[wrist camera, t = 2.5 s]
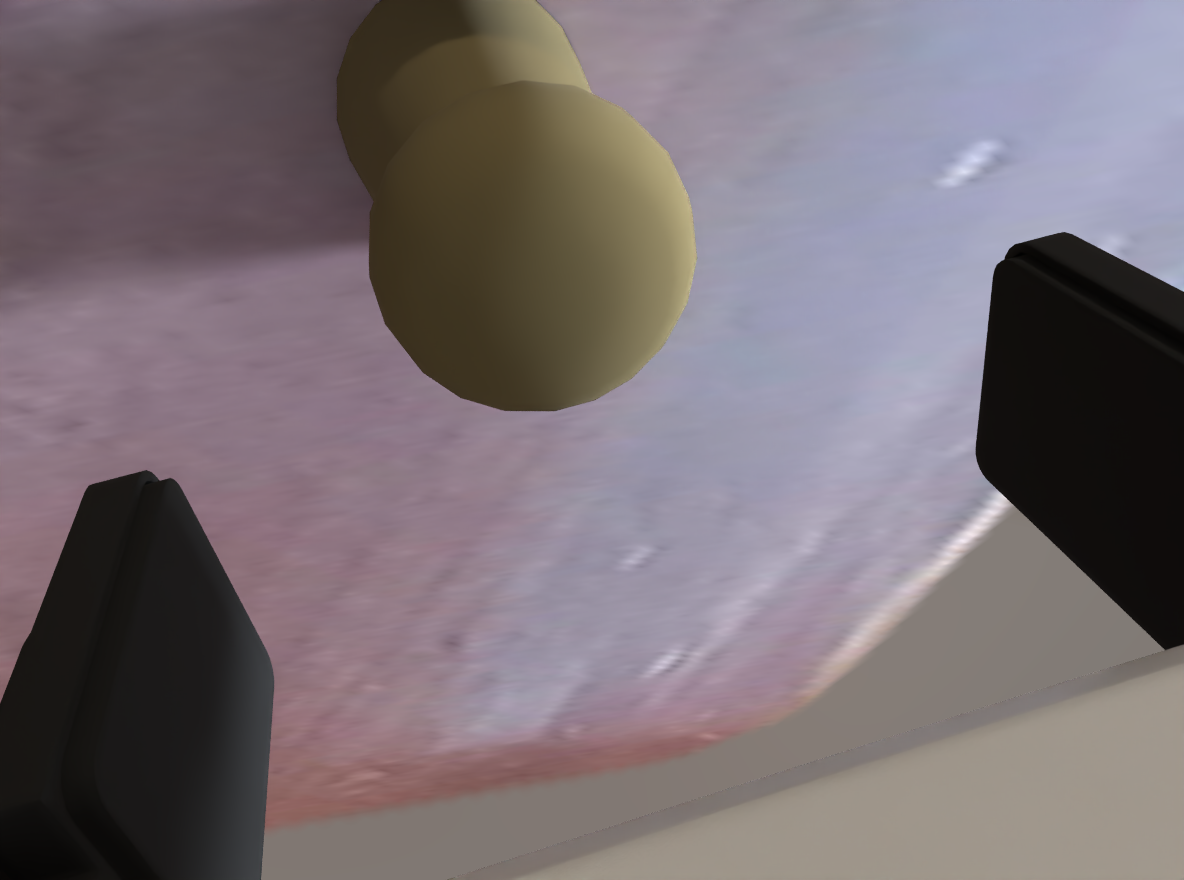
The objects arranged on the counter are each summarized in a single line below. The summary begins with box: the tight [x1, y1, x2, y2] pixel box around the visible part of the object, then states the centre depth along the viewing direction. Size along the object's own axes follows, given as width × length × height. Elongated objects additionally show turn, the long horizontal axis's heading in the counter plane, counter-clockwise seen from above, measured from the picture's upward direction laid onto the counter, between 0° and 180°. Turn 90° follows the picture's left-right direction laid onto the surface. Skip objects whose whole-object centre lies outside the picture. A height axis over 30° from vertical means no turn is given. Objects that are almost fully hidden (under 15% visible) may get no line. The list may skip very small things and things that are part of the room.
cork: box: [337, 0, 697, 411], centre depth 18 cm, size 6×6×11 cm
